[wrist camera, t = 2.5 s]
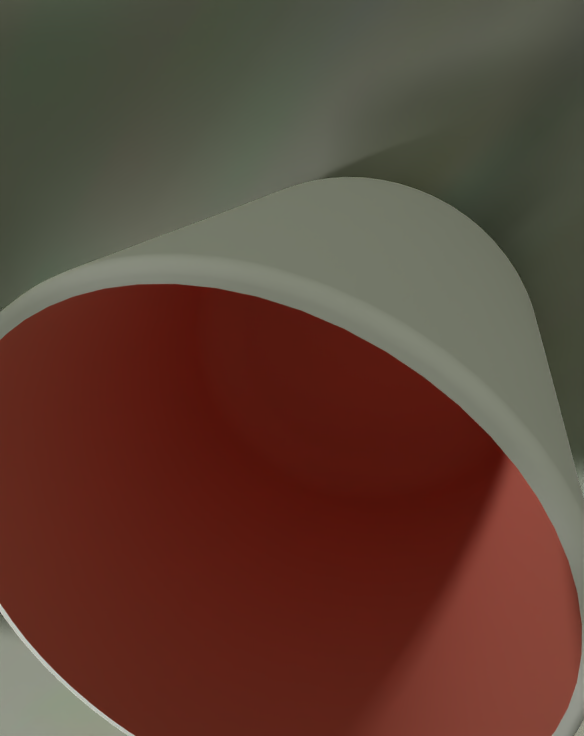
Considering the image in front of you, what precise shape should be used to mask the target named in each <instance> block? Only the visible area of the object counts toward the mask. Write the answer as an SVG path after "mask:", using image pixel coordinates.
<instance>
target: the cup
mask: <svg viewBox="0 0 584 736" xmlns="http://www.w3.org/2000/svg"><path fill="white" fill-rule="evenodd" d="M0 612H1V614H2V615H3V617H4V618H5V619H6V621H7V622H8V623H9V625H10V626H11V627H12V629H13V630H14V631H15V633H16V634H17V635H18V636H19V638H20V639H21V640H22V641H23V642H24V644H25V645H26V646H27V647H28V648H29V649H30V651H31V652H32V653H33V654H34V655H35V656H36V657H37V658H38V660H39V661H40V662H41V663H42V664H43V665H44V666H45V667H46V668H47V669H48V670H49V671H50V672H51V673H52V674H53V675H54V676H55V677H56V678H57V679H58V680H59V681H60V682H61V683H62V684H64V685H65V686H66V687H67V688H68V689H69V690H70V691H71V692H72V693H73V694H74V695H76V696H77V697H78V698H79V699H80V700H81V701H83V702H84V703H85V704H86V705H87V706H89V707H90V708H91V709H92V710H94V711H95V712H96V713H97V714H99V715H100V716H101V717H103V718H104V719H105V720H107V721H108V722H109V723H111V724H112V725H114V726H115V727H116V728H118V729H119V730H121V731H122V732H123V733H125V734H126V735H128V736H574V735H575V733H576V732H577V730H578V728H579V727H580V725H581V723H582V721H583V720H584V498H583V494H582V490H581V486H580V483H579V479H578V475H577V471H576V467H575V464H574V460H573V456H572V452H571V448H570V444H569V441H568V437H567V433H566V429H565V425H564V422H563V418H562V414H561V410H560V406H559V403H558V399H557V395H556V391H555V387H554V384H553V380H552V376H551V373H550V369H549V365H548V361H547V358H546V354H545V350H544V346H543V343H542V339H541V335H540V332H539V328H538V324H537V320H536V317H535V313H534V309H533V306H532V304H531V301H530V298H529V296H528V293H527V291H526V289H525V287H524V285H523V283H522V281H521V279H520V277H519V275H518V273H517V271H516V270H515V268H514V267H513V265H512V264H511V262H510V261H509V259H508V258H507V256H506V255H505V254H504V252H503V251H502V250H501V249H500V248H499V246H498V245H497V244H496V243H495V242H494V240H493V239H492V238H491V237H490V236H489V235H488V234H487V233H486V232H485V231H484V230H483V229H482V228H481V227H480V226H478V225H477V224H476V223H475V222H473V221H472V220H471V219H470V218H468V217H467V216H466V215H464V214H463V213H461V212H460V211H458V210H457V209H456V208H454V207H453V206H451V205H449V204H447V203H446V202H444V201H442V200H440V199H438V198H436V197H434V196H432V195H430V194H427V193H425V192H423V191H420V190H418V189H415V188H412V187H409V186H406V185H403V184H399V183H395V182H390V181H386V180H381V179H373V178H365V177H338V178H326V179H320V180H314V181H309V182H305V183H301V184H298V185H295V186H291V187H288V188H285V189H283V190H280V191H278V192H275V193H272V194H270V195H267V196H264V197H262V198H259V199H257V200H254V201H251V202H249V203H246V204H244V205H241V206H238V207H236V208H233V209H230V210H228V211H225V212H223V213H220V214H217V215H215V216H212V217H209V218H207V219H204V220H201V221H199V222H196V223H193V224H191V225H188V226H185V227H182V228H180V229H177V230H174V231H172V232H169V233H166V234H164V235H161V236H158V237H156V238H153V239H150V240H148V241H145V242H142V243H140V244H137V245H134V246H132V247H129V248H126V249H124V250H121V251H118V252H115V253H113V254H110V255H107V256H105V257H102V258H99V259H97V260H94V261H91V262H89V263H86V264H83V265H81V266H78V267H75V268H73V269H70V270H68V271H65V272H63V273H60V274H58V275H56V276H54V277H52V278H49V279H47V280H45V281H43V282H41V283H40V284H38V285H36V286H34V287H33V288H31V289H30V290H28V291H27V292H25V293H24V294H22V295H21V296H20V297H18V298H17V299H16V300H14V301H13V302H12V303H11V304H9V305H8V306H7V307H5V308H4V309H3V310H2V311H0Z"/></svg>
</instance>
